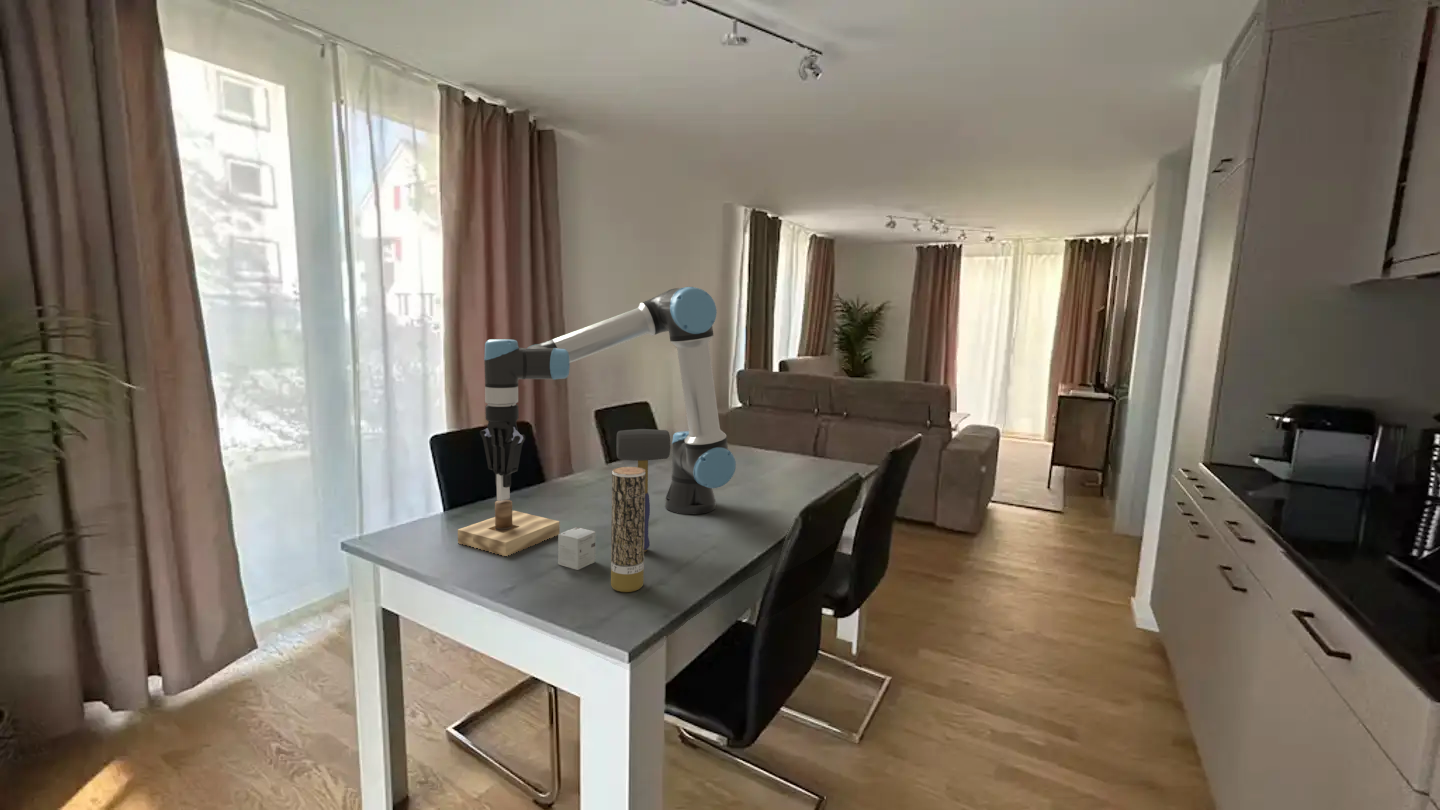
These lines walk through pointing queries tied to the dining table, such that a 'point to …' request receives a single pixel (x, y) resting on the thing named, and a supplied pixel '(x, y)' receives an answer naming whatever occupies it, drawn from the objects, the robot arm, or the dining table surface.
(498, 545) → the board
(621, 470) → the paper tube
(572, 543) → the skincare box
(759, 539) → the dining table surface
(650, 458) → the rubber mallet
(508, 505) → the peg
